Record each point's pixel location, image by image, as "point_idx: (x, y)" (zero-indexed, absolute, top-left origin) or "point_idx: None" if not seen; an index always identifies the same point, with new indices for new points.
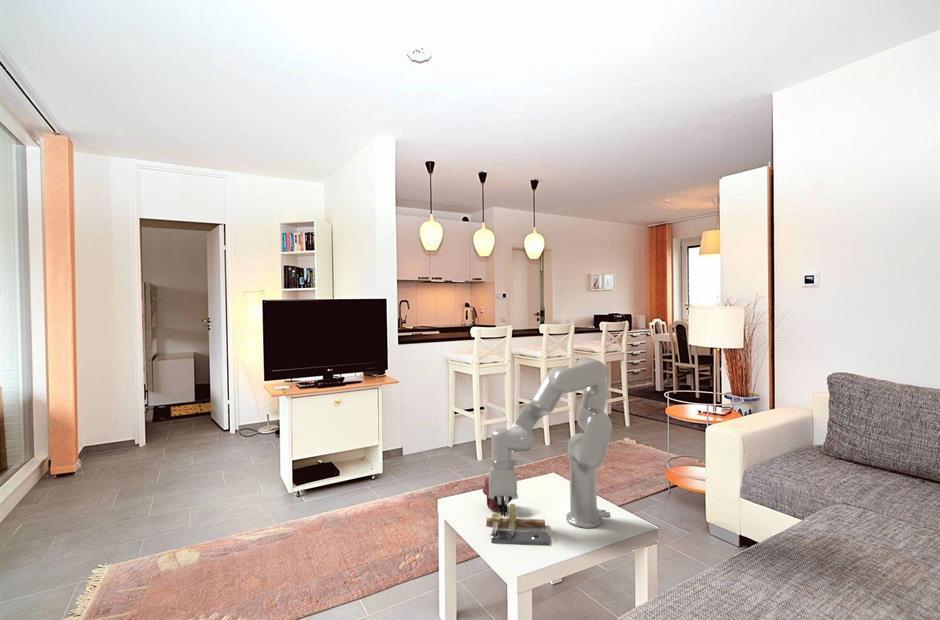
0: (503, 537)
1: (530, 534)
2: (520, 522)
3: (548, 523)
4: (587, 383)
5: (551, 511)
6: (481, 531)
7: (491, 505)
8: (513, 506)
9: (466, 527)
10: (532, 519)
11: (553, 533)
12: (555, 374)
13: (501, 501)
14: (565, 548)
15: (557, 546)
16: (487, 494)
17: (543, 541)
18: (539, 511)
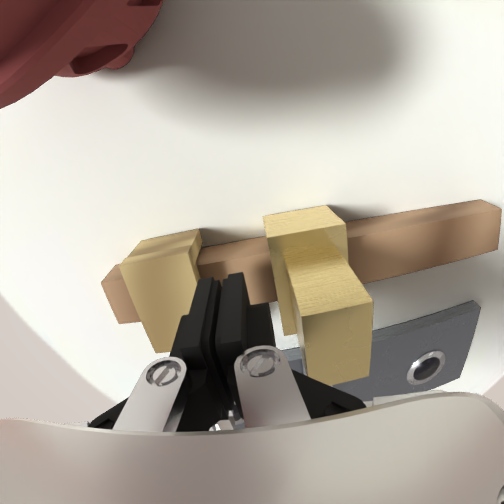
0: None
1: (407, 357)
2: (366, 279)
3: (494, 173)
4: None
5: (487, 17)
6: (134, 357)
7: (60, 75)
8: (350, 363)
9: (52, 331)
10: (445, 225)
11: (496, 277)
12: None
13: (205, 423)
14: (492, 362)
15: (476, 363)
16: None
17: (444, 382)
18: (436, 7)
